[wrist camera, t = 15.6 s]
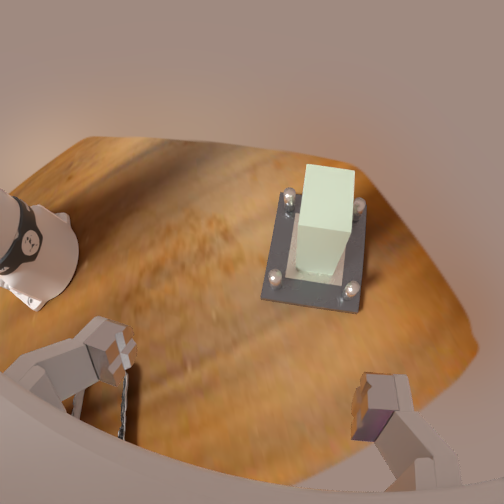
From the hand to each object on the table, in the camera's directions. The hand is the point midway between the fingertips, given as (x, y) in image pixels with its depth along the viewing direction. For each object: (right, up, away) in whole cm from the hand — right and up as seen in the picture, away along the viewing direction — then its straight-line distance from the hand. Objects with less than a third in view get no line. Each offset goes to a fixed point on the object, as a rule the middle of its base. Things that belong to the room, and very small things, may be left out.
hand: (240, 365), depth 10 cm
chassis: (+10, +4, +34) cm, 36 cm away
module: (+9, +4, +33) cm, 34 cm away
